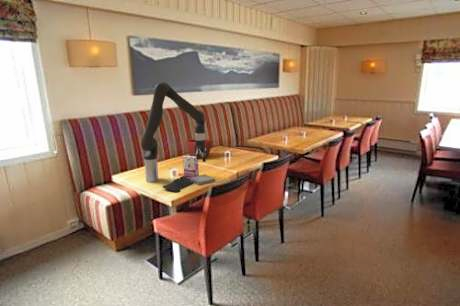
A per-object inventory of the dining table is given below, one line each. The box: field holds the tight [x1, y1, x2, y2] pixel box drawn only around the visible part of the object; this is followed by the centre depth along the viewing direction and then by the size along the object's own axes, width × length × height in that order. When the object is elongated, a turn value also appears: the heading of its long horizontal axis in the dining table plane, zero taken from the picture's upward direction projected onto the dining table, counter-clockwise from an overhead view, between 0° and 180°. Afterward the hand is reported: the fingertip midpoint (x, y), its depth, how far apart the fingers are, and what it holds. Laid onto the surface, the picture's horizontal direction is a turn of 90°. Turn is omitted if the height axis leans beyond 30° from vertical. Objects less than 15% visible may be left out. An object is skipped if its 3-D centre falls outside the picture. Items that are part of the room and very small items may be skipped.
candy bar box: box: [182, 155, 200, 178], centre depth 229 cm, size 11×5×16 cm, turn 61°
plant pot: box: [185, 138, 213, 160], centre depth 291 cm, size 19×19×17 cm
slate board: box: [188, 174, 216, 186], centre depth 221 cm, size 14×14×2 cm
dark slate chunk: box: [162, 175, 195, 193], centre depth 211 cm, size 15×22×5 cm
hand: (201, 160), depth 217 cm, fingers open, 8 cm apart
